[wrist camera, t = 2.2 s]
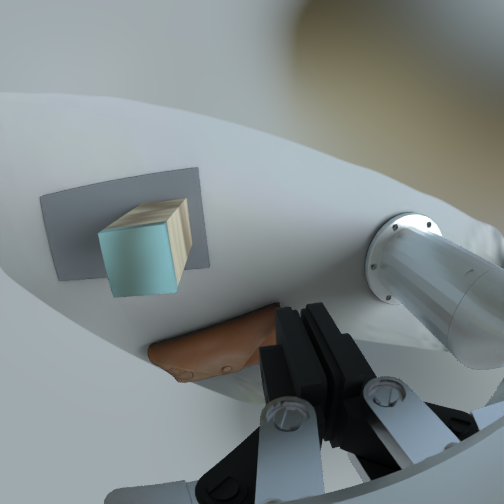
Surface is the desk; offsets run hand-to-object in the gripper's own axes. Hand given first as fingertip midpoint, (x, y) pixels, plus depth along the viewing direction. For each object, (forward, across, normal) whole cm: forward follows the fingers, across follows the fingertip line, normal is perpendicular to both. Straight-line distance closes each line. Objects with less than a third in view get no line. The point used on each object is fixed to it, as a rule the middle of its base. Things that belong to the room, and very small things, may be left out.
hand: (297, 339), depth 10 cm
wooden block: (+22, +9, 0) cm, 24 cm away
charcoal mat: (+23, +15, 0) cm, 27 cm away
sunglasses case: (+24, +5, +17) cm, 30 cm away
